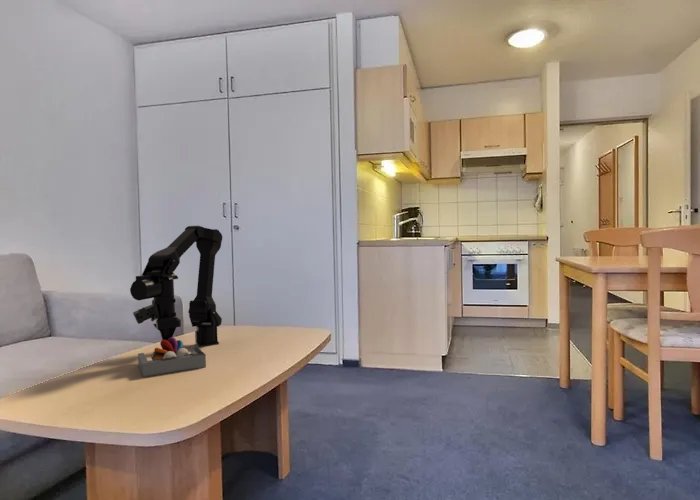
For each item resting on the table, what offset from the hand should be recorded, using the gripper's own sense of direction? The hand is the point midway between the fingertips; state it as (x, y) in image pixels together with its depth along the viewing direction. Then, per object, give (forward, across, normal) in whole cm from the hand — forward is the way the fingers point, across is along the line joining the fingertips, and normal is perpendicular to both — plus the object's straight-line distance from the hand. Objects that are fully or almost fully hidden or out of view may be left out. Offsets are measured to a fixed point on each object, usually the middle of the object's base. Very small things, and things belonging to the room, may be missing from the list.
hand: (166, 347), depth 137 cm
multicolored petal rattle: (+4, +5, 0) cm, 6 cm away
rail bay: (+4, +9, 0) cm, 10 cm away
